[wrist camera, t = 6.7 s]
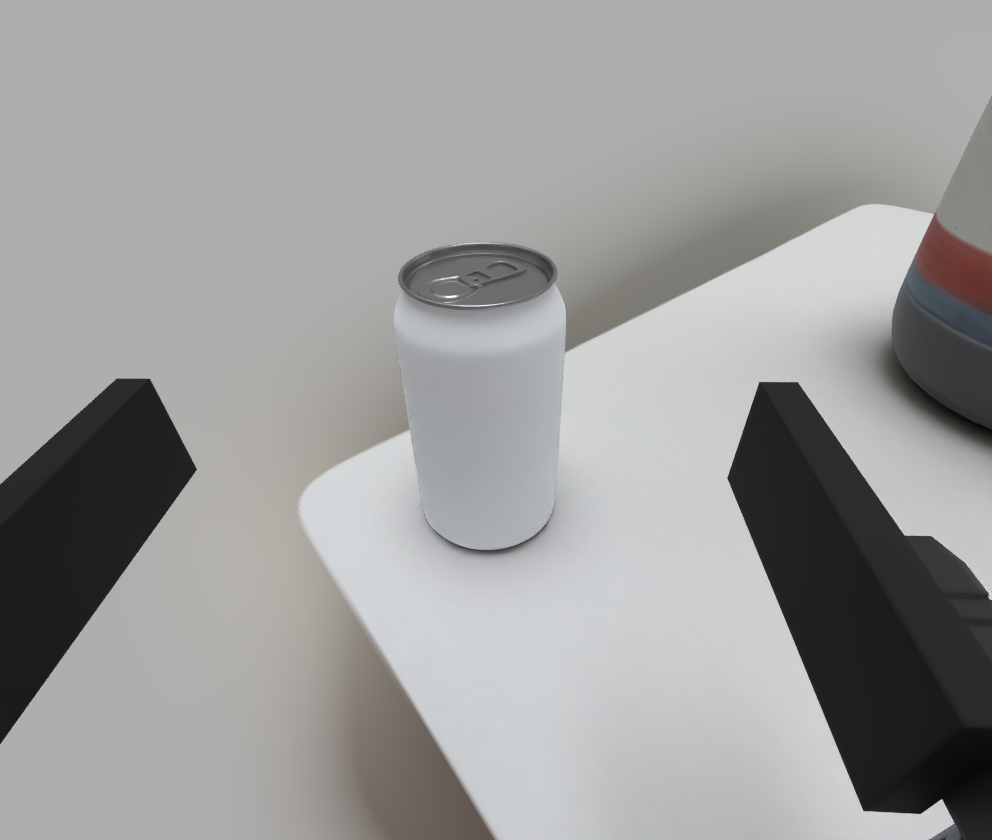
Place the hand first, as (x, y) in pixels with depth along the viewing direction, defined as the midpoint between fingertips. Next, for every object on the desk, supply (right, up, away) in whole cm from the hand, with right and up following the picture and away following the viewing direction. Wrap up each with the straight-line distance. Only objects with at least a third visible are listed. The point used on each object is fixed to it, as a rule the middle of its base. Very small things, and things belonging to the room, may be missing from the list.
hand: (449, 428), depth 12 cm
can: (+1, -4, +14) cm, 15 cm away
